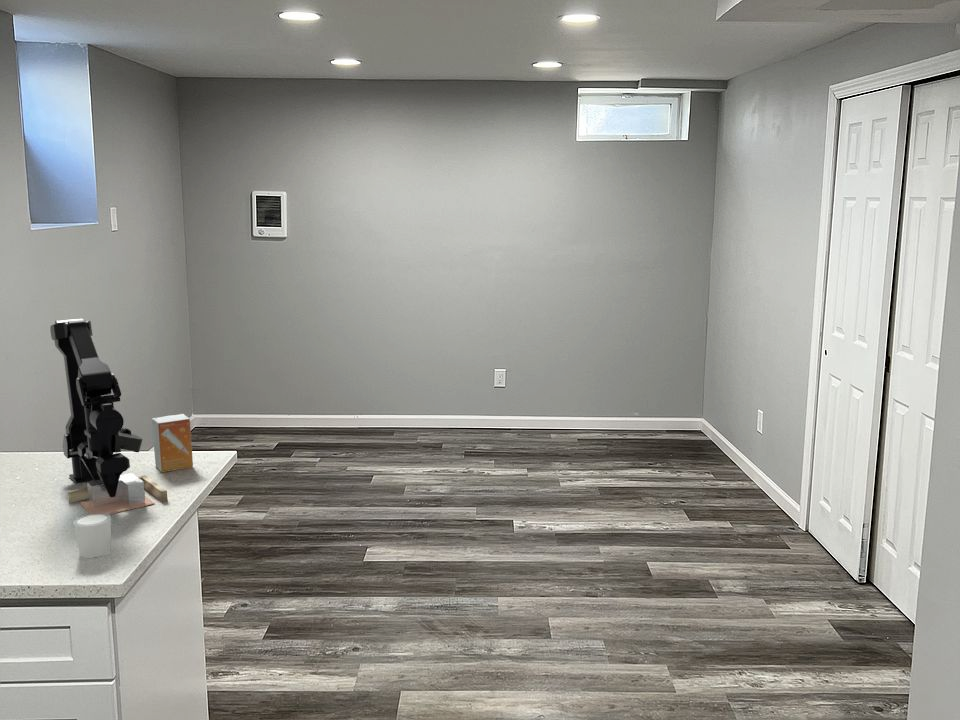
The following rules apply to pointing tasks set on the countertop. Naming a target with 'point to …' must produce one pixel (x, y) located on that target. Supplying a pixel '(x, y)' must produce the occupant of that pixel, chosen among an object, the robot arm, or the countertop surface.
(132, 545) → the countertop surface
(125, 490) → the bracket
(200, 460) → the countertop surface
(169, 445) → the small box
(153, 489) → the tan corner rail
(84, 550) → the shot glass
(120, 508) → the pad
